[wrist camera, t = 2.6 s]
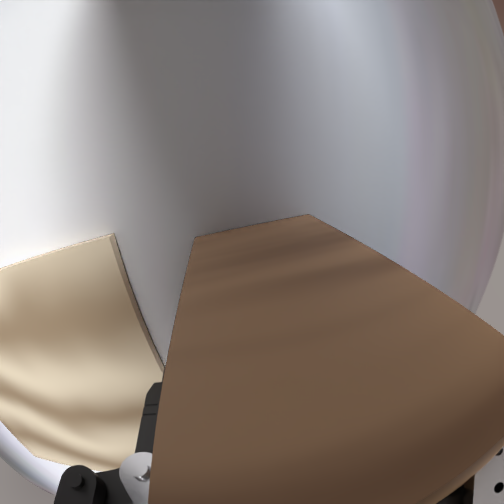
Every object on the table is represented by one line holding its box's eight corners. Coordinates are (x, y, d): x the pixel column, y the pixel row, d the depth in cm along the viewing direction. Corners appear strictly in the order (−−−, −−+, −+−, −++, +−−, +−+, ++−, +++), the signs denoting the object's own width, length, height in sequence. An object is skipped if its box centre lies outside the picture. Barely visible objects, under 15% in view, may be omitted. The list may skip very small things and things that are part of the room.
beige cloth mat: (-68, 295, 9) (-72, 298, 9) (113, 233, 11) (109, 236, 10) (36, 453, 16) (35, 456, 15) (221, 467, 17) (222, 472, 17)
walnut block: (194, 237, 11) (145, 553, 1) (308, 214, 12) (553, 375, 1) (233, 376, 14) (266, 570, 4) (320, 355, 14) (411, 523, 4)
